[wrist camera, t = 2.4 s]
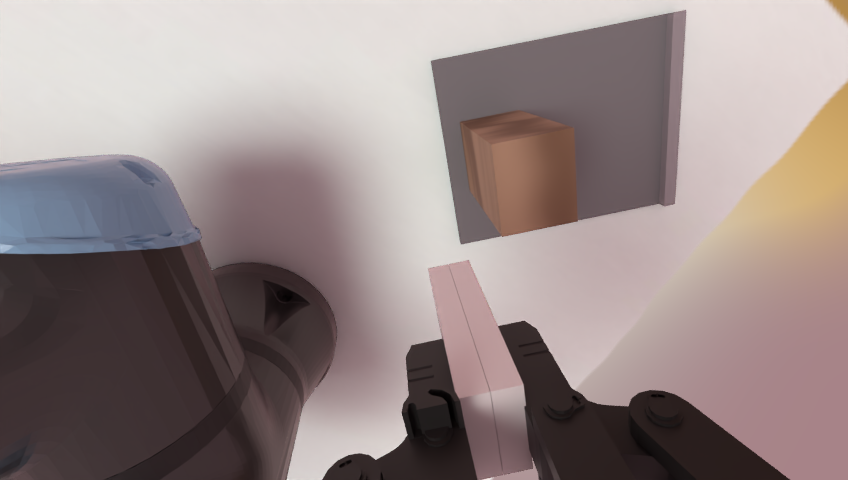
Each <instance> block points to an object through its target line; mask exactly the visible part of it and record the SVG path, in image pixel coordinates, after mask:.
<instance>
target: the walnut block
mask: <svg viewBox="0 0 848 480" xmlns="http://www.w3.org/2000/svg"><path fill="white" fill-rule="evenodd" d="M460 128H461V135H462V142H463V148H464V155H465V162H466V169H467V176H468V183H469V190H470V192H471V193H472V195H473V196H474V197H475V199H476V200H477V202H478V203H479V204H480V206H481V207H482V209H483V210H484V212H485V213H486V214H487V216H488V217H489V219H490V220H491V222H492V223H493V224H494V226H495V227H496V229H497V230H498V231H499V233H500V234H501V236H502V237H503V236H508V235H513V234H518V233H523V232H528V231H533V230H537V229H542V228H547V227H552V226H557V225H562V224H567V223H571V222H576V221H578V215H577V190H576V164H575V138H574V128H573V127H570V126H567V125H564V124H561V123H558V122H555V121H551V120H548V119H545V118H542V117H539V116H536V115H533V114H530V113H526V112H523V111H520V110H516V111H511V112H506V113H501V114H496V115H491V116H486V117H481V118H476V119H471V120H466V121H461V122H460Z"/></svg>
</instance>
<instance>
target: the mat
mask: <svg viewBox="0 0 848 480" xmlns="http://www.w3.org/2000/svg"><path fill="white" fill-rule="evenodd" d="M685 23H686V10H684V11H679V12H674V13H669V14H664V15H659V16H654V17H649V18H644V19H639V20H634V21H629V22H624V23H619V24H614V25H609V26H604V27H599V28H594V29H589V30H584V31H579V32H574V33H569V34H564V35H559V36H554V37H549V38H544V39H539V40H534V41H529V42H524V43H519V44H514V45H509V46H504V47H499V48H494V49H489V50H484V51H479V52H474V53H469V54H464V55H459V56H454V57H449V58H444V59H439V60H434V61H431V64H432V70H433V76H434V83H435V89H436V95H437V101H438V107H439V113H440V120H441V126H442V132H443V138H444V144H445V150H446V157H447V163H448V169H449V175H450V181H451V187H452V194H453V200H454V206H455V212H456V218H457V224H458V231H459V237H460V243H461V244H465V243H470V242H475V241H480V240H485V239H490V238H495V237H499V236H501V234H500V233H499V231H498V230H497V229H496V227H495V226H494V224H493V223H492V222H491V220H490V219H489V217H488V216H487V214H486V213H485V212H484V210H483V209H482V207H481V206H480V204H479V203H478V202H477V200H476V199H475V197H474V196H473V195H472V193H471V192H470V190H469V183H468V176H467V169H466V162H465V155H464V148H463V142H462V135H461V128H460V122H461V121H466V120H471V119H476V118H481V117H486V116H491V115H496V114H501V113H506V112H511V111H516V110H520V111H523V112H526V113H530V114H533V115H536V116H539V117H542V118H545V119H548V120H551V121H555V122H558V123H561V124H564V125H567V126H570V127H573V128H574V138H575V164H576V190H577V215H578V220H582V219H587V218H592V217H597V216H601V215H606V214H611V213H616V212H621V211H626V210H630V209H635V208H640V207H645V206H650V205H655V204H661V205H663V206H668V205H673V204H675V193H676V176H677V159H678V142H679V125H680V108H681V91H682V74H683V57H684V40H685Z"/></svg>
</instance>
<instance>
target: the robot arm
mask: <svg viewBox="0 0 848 480" xmlns="http://www.w3.org/2000/svg"><path fill="white" fill-rule="evenodd" d="M200 239H201V234H200V230H199V228H197V227H195V226H194V225H193V224H192V222H191V220H190V218H189V216H188V214H187V212H186V210H185V208H184V205H183V203H182V201H181V199H180V197H179V195H178V193H177V191H176V189H175V187H174V185H173V183H172V181H171V179H170V178H169V176H168V175H167V174H166V172H165V171H164V170H163V169H162V168H160V167H159V166H158V165H156V164H155V163H153V162H151V161H149V160H146V159H144V158H141V157H137V156H132V155H98V156H83V157H71V158H59V159H48V160H38V161H28V162H17V163H7V164H0V480H286V479H287V474H288V470H289V466H290V461H291V457H292V452H293V448H294V443H295V439H296V434H297V430H298V425H299V421H300V416H301V412H302V408H303V405H304V404H305V402H306V401H307V399H308V398H309V397H310V395H311V394H312V392H313V391H314V389H315V388H316V387H317V386H318V385H319V384H320V382H321V381H322V380H323V378H324V377H325V375H326V374H327V372H328V370H329V368H330V366H331V363H332V360H333V356H334V351H335V345H336V338H337V330H336V323H335V319H334V316H333V313H332V311H331V308H330V306H329V305H328V303H327V301H326V300H325V299H324V297H323V296H322V295H321V294H320V292H319V291H318V290H317V289H316V288H315V287H313V286H312V285H311V284H310V283H309V282H307V281H306V280H304V279H303V278H301V277H300V276H298V275H296V274H294V273H292V272H290V271H287V270H285V269H282V268H279V267H276V266H271V265H266V264H259V263H240V264H233V265H228V266H224V267H221V268H218V269H215V270H213V271H212V270H211V268H210V265H209V263H208V261H207V258H206V256H205V253H204V251H203V248H202V246H201V243H200ZM428 271H429V276H430V281H431V286H432V291H433V295H434V300H435V305H436V310H437V315H438V320H439V325H440V330H441V335H442V339H440V340H435V341H430V342H426V343H421V344H416V345H412V346H411V348H410V350H409V352H408V354H407V356H406V365H407V378H408V391H409V397H408V398H407V400H406V401H405V402H404V404H403V409H402V416H403V420H404V423H405V427H406V431H407V434H408V435H407V437H406V438H405V440H404V441H403V442H402V443H401V444H400V445H399V446H398V447H397V448H396V449H394V450H393V451H391V452H390V453H388V454H386V455H384V456H382V457H381V458H379V459H377V460H375V459H374V458H372V457H371V456H370V455H365V454H360V453H359V454H353V455H348V456H346V457H344V458H342V459H340V460H338V461H337V462H336V463H335V464H334V465H333V466H332V467H330V468H329V469H328V471H327V473H326V474H325V476H324V478H323V479H322V480H481V479H486V478H491V477H495V476H500V475H503V474H504V475H505V474H510V473H514V472H519V471H524V470H528V469H533V463H532V458H533V461H534V463H535V466H536V469H537V471H538V476H539V480H790V479H788V478H787V477H786V476H784V475H783V474H782V473H780V472H779V471H778V470H777V469H775V468H774V467H773V466H771V465H770V464H769V463H767V462H766V461H765V460H763V459H762V458H761V457H759V456H758V455H757V454H756V453H754V452H753V451H752V450H750V449H749V448H748V447H746V446H745V445H743V444H742V443H741V442H740V441H738V440H737V439H736V438H734V437H733V436H732V435H731V434H729V433H728V432H727V431H725V430H724V429H723V428H721V427H720V426H719V425H717V424H716V423H715V422H713V421H712V420H711V419H710V418H708V417H707V416H706V415H704V414H703V413H702V412H700V411H699V410H698V409H696V408H695V407H694V406H692V405H691V404H690V403H689V402H687V401H685V400H684V399H682V398H680V397H678V396H677V395H675V394H671V393H668V392H665V391H655V390H649V391H645V392H641V393H638V394H637V395H636V396H634V397H633V398H632V399H631V401H630V404H629V407H627V406H609V405H601V404H596V403H593V402H590V401H588V400H586V398H585V397H584V396H583V395H582V394H580V393H579V392H577V391H575V390H573V389H572V388H571V387H570V385H569V384H568V382H567V380H566V378H565V377H564V375H563V373H562V372H561V370H560V368H559V366H558V365H557V363H556V361H555V360H554V358H553V356H552V354H551V353H550V352H549V349H548V348H547V346H546V344H545V343H544V342H543V339H542V337H541V336H540V334H539V332H538V331H537V329H536V328H534V327H533V326H531V325H530V324H528V323H527V322H525V321H521V322H516V323H511V324H507V325H502V326H497V323H496V321H495V319H494V316H493V314H492V312H491V310H490V307H489V305H488V303H487V301H486V298H485V296H484V294H483V292H482V289H481V287H480V285H479V283H478V280H477V278H476V276H475V273H474V271H473V269H472V267H471V264H470V262H469V260H467V261H462V262H457V263H452V264H449V265H443V266H438V267H433V268H428ZM502 471H503V472H502Z"/></svg>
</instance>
